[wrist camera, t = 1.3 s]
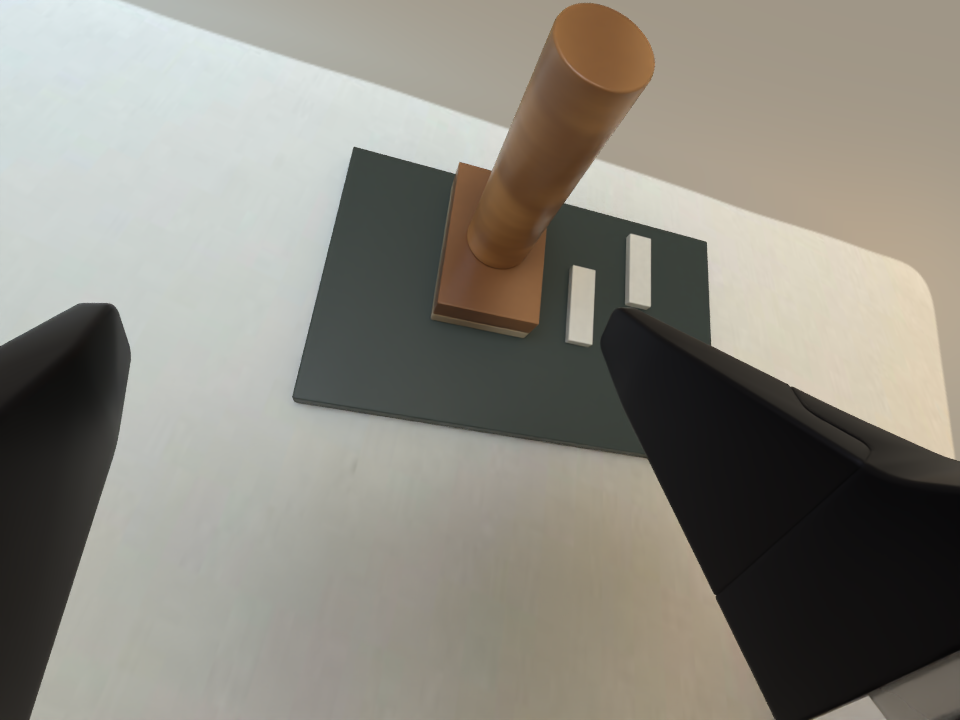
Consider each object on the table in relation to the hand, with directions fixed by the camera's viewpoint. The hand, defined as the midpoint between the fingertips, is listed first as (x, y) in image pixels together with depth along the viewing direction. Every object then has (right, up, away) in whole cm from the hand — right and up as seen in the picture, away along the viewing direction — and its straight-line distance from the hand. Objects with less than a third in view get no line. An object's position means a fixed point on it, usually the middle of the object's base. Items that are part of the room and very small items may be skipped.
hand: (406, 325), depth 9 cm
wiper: (+2, +5, +17) cm, 17 cm away
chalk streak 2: (+11, +4, +19) cm, 22 cm away
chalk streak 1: (+7, +2, +17) cm, 19 cm away
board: (+4, +2, +18) cm, 18 cm away
